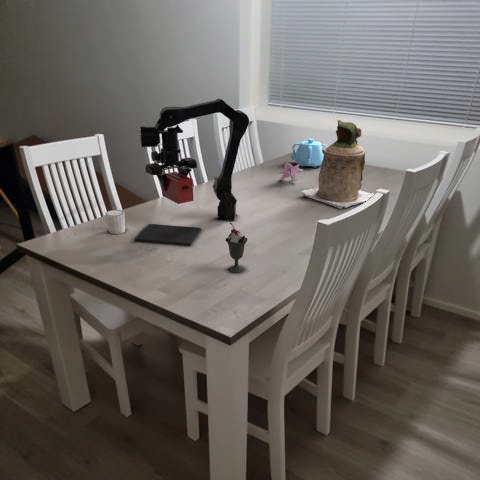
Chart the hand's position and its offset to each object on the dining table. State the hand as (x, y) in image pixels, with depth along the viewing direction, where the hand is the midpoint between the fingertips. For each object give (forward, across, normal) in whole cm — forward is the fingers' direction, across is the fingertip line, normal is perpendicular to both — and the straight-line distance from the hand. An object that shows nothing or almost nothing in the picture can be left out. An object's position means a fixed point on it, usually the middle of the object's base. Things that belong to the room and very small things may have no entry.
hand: (173, 189), depth 178 cm
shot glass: (+13, +23, -4) cm, 26 cm away
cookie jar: (+13, -74, +16) cm, 76 cm away
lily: (+13, -72, -15) cm, 75 cm away
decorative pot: (+13, -102, -33) cm, 108 cm away
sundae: (+13, +6, +48) cm, 50 cm away
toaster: (+2, 0, +3) cm, 4 cm away
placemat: (+12, +9, +11) cm, 19 cm away
